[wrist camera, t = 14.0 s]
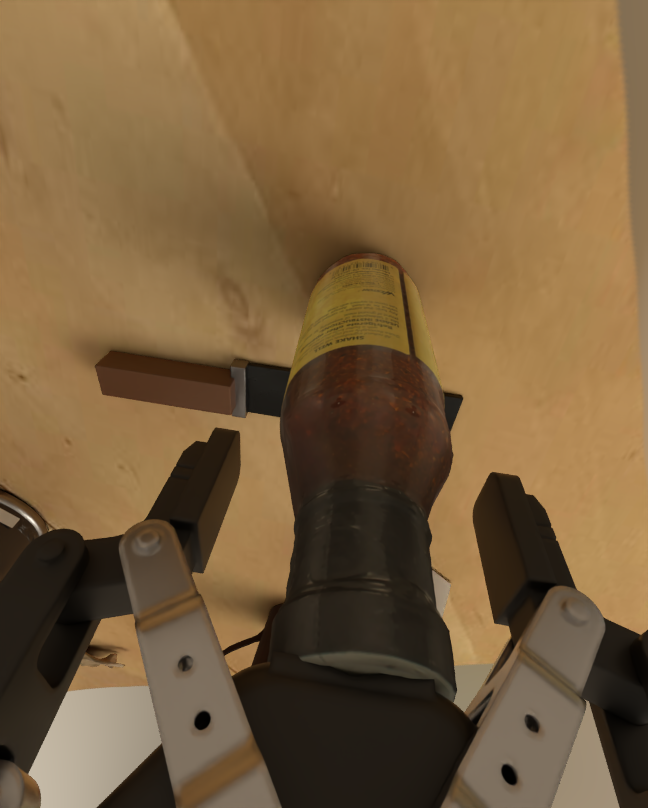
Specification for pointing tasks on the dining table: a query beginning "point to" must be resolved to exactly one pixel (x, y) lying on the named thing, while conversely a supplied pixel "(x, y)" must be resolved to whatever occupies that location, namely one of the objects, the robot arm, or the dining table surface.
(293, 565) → the sauce bottle
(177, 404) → the knife
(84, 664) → the animal jawbone
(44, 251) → the dining table surface
